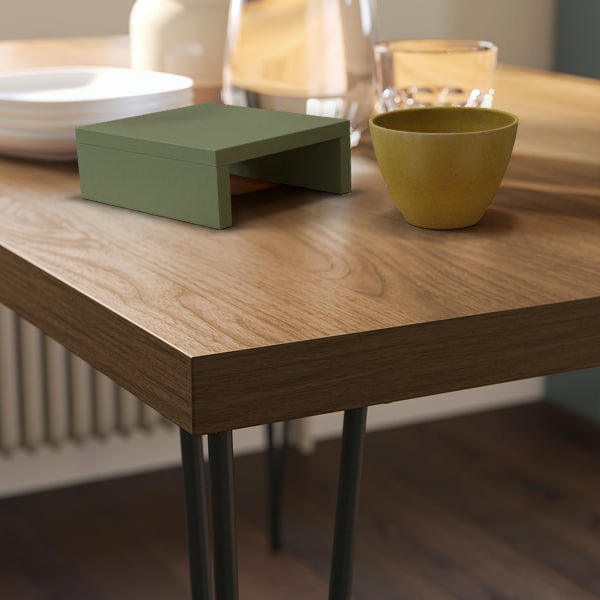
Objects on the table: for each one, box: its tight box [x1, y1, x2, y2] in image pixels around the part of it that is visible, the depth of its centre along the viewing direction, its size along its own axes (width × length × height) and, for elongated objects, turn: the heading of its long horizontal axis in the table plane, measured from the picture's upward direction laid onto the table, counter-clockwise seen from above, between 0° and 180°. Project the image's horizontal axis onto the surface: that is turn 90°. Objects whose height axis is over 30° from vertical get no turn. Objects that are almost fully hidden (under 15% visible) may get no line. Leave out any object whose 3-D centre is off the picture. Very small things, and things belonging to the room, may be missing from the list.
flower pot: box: [368, 105, 519, 230], centre depth 81 cm, size 10×10×7 cm
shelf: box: [74, 101, 353, 230], centre depth 91 cm, size 16×14×6 cm
